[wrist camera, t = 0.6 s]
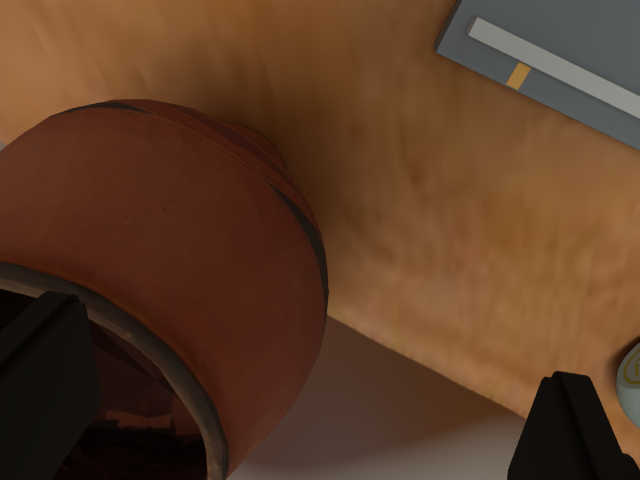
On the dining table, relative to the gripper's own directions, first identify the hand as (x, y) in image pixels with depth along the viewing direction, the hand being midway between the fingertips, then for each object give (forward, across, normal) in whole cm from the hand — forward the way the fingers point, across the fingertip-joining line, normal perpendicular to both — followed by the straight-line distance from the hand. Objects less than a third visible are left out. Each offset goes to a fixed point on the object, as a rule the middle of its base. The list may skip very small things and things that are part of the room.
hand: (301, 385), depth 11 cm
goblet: (+29, +10, +8) cm, 32 cm away
